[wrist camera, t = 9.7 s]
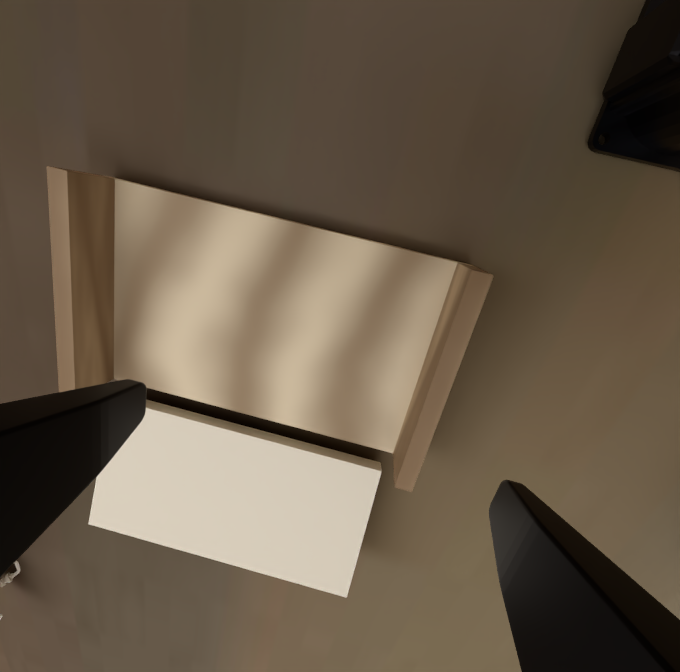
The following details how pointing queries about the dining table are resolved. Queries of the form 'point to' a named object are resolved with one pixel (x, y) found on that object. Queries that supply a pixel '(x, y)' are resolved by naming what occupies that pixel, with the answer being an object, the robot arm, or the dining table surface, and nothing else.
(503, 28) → the dining table surface
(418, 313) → the tray
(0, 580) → the rocket engine
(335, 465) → the panel
